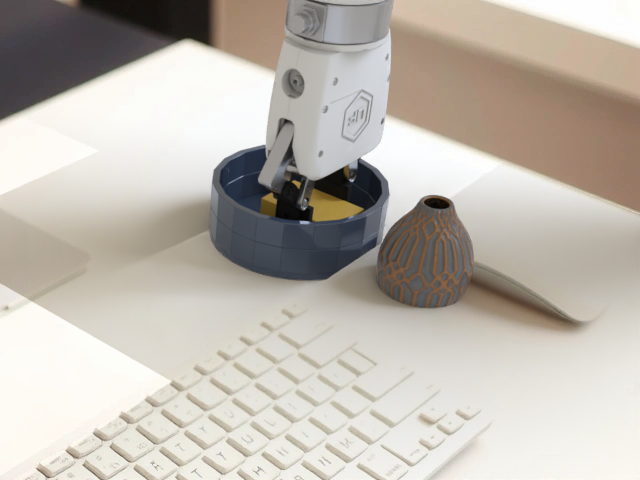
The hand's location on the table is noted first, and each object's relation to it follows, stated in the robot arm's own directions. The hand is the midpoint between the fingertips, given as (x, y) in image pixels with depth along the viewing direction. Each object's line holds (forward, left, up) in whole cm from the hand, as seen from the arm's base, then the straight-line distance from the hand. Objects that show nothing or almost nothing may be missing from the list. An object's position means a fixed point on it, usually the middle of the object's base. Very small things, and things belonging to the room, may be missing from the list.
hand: (309, 231), depth 89 cm
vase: (+2, +11, -1) cm, 12 cm away
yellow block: (0, 0, 0) cm, 0 cm away
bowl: (0, -2, -1) cm, 2 cm away
